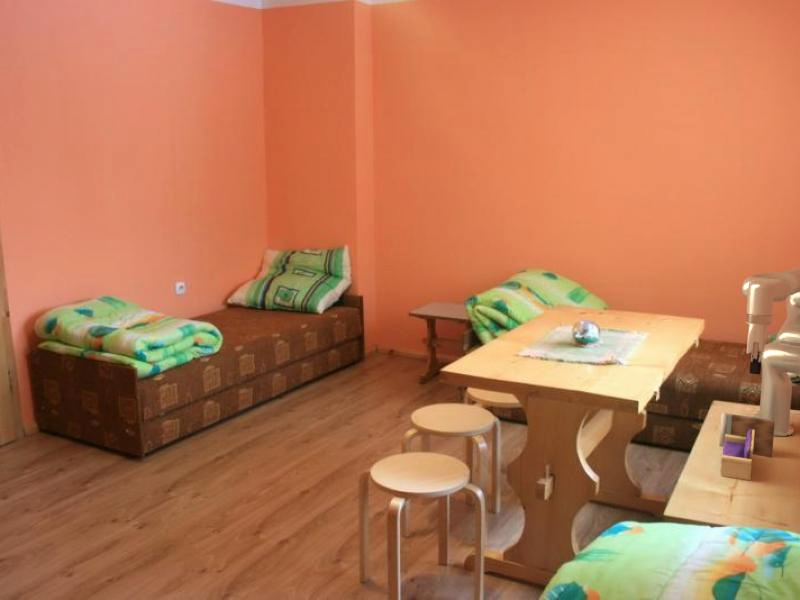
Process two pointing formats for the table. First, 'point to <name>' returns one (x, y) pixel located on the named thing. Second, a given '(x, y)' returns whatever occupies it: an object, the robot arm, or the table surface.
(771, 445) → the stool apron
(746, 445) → the toy sofa
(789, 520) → the table surface
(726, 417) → the grey panel
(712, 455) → the table surface
